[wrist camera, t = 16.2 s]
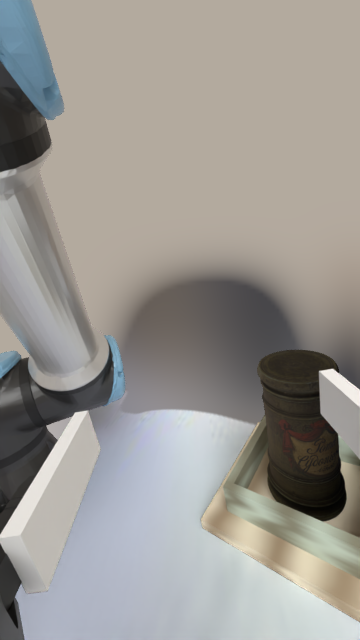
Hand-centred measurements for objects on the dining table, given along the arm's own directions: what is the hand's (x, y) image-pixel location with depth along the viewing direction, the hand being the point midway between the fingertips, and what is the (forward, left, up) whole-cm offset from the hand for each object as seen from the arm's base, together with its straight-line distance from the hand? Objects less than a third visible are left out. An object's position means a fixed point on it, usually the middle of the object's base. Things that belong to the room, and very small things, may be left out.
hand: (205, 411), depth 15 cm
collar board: (0, +18, -25) cm, 31 cm away
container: (0, +18, -24) cm, 30 cm away
